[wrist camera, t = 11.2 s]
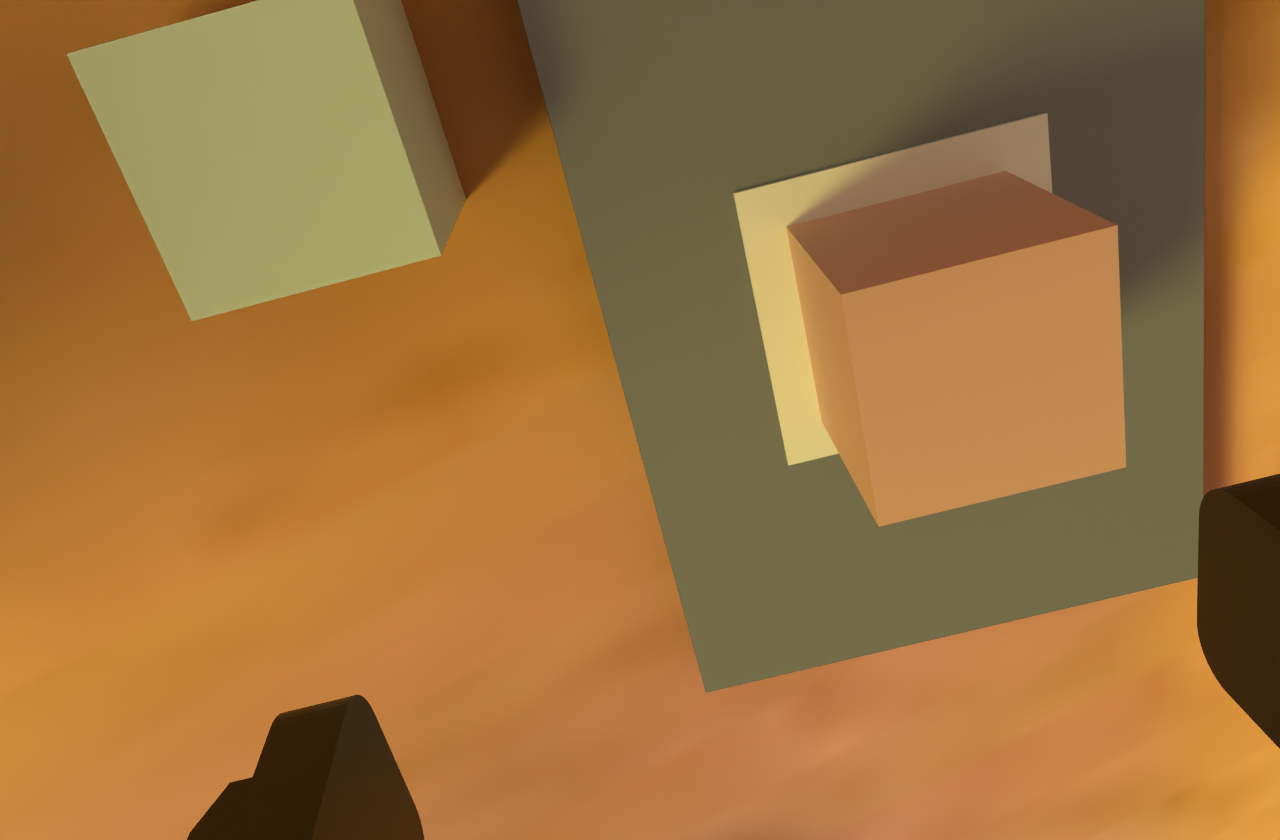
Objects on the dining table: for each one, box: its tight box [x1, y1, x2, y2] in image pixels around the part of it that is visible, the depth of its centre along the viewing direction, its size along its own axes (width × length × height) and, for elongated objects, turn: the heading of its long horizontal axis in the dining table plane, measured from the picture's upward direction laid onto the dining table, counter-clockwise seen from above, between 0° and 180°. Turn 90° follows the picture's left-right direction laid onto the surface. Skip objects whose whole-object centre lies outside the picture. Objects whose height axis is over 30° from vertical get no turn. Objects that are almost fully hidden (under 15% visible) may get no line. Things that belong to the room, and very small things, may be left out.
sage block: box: [67, 0, 466, 321], centre depth 20 cm, size 5×5×5 cm
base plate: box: [517, 0, 1205, 692], centre depth 24 cm, size 14×20×2 cm
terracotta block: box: [786, 171, 1126, 527], centre depth 21 cm, size 5×5×5 cm
